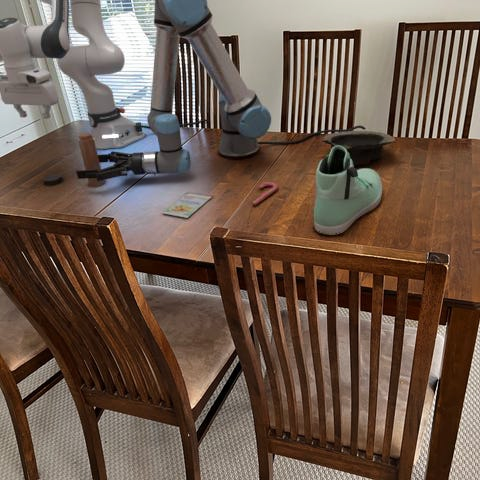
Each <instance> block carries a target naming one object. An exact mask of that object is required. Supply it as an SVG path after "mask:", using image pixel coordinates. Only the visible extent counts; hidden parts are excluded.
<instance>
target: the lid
mask: <svg viewBox="0 0 480 480" xmlns="http://www.w3.org/2000/svg"><path fill="white" fill-rule="evenodd" d="M43 181H44V184H45V185H46V186H55V185H58V184H60V183H62V182H63V178H62V175H61V174H59V173H56V174H55V173H53V174H50V175H47V176H45V177H44V179H43Z"/></svg>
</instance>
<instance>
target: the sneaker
mask: <svg viewBox="0 0 480 480" xmlns="http://www.w3.org/2000/svg"><path fill="white" fill-rule="evenodd" d="M317 165H318V166H317V168H316V172H315V201H314V207H313V225H314V229H315V231H316V232H318V233H320V234H323V235H326V236H327V235H328V236H336V235H339V234H342V233H344V232H345V231H347V230H348V229H349V228H350V227H351V226H352V225H353V224H354V222H356V221H357V220H358V219H359V218H360V217H362V216H363V215H365V214H367V213H370V212H372V210H374V209H375V208H377V207H378V205H380V203H381V200H382V196H383V184H382V183H383V182H382V179H381V176H380V175H379V173H378V172H377V171H376V170H374V169H372V168H367V167H365V168H358V169H357V168H355V166H353V161H352V159H350V156H349V153H348V152H347V150H346V149H345V148H344V147H342V146H334V147H333V148H332V149H330V151H329V154H327V155H326V156H325V157H324V158H322V159H321V160H320V161H319V163H318V164H317ZM343 230H344V231H343ZM319 231H320V232H319ZM322 232H323V233H322ZM339 232H340V233H339ZM326 233H327V234H326ZM328 233H329V234H328ZM335 233H337V234H335Z"/></svg>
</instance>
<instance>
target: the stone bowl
mask: <svg viewBox="0 0 480 480" xmlns="http://www.w3.org/2000/svg"><path fill="white" fill-rule="evenodd" d="M321 142H322V143H325V144H328V145H329V146H330V148H331V149H332V148H333V147H334V146H342V147H344V148H345V149H346V150H347V152H348V153H349V156H350V159H352V161H353V166H354V167H356V166H359V165H361V166H364V165H368V164H369V163H370V161H371V160H373V161H374V160H375V161H377V160H381V158H382V155H383V149H384V146H387V145H391V144H392V143H393V142H396V138H395V137H393V136H391V135H390V134H388V133H385V132H381V131H373V130H352V131H348V132H345V131H344V132H332V133H330V134H325V135H324V136H323V138H322V140H321ZM331 149H330V150H331Z"/></svg>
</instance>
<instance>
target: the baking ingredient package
mask: <svg viewBox="0 0 480 480" xmlns="http://www.w3.org/2000/svg"><path fill="white" fill-rule="evenodd" d="M211 198H212V196H209V195H204V194H197V193H192V192H187V193H186V194H184V195H183V196H182V197H181V198H180V199H178V200H177V201H175V203H173V204H172V205H170V206H169V207H168V208H167V209H165V210H164V211H163V212H162V214H165V215H168V216H169V215H171V216H175V217H180V218H189V217H190V216H191V215H192V214H194V213H195V212H196V211H197V210H198V209H199V208H201V207H202V206H203V205H204V204H205V203H207V202H208V201H209V200H210V199H211Z"/></svg>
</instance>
